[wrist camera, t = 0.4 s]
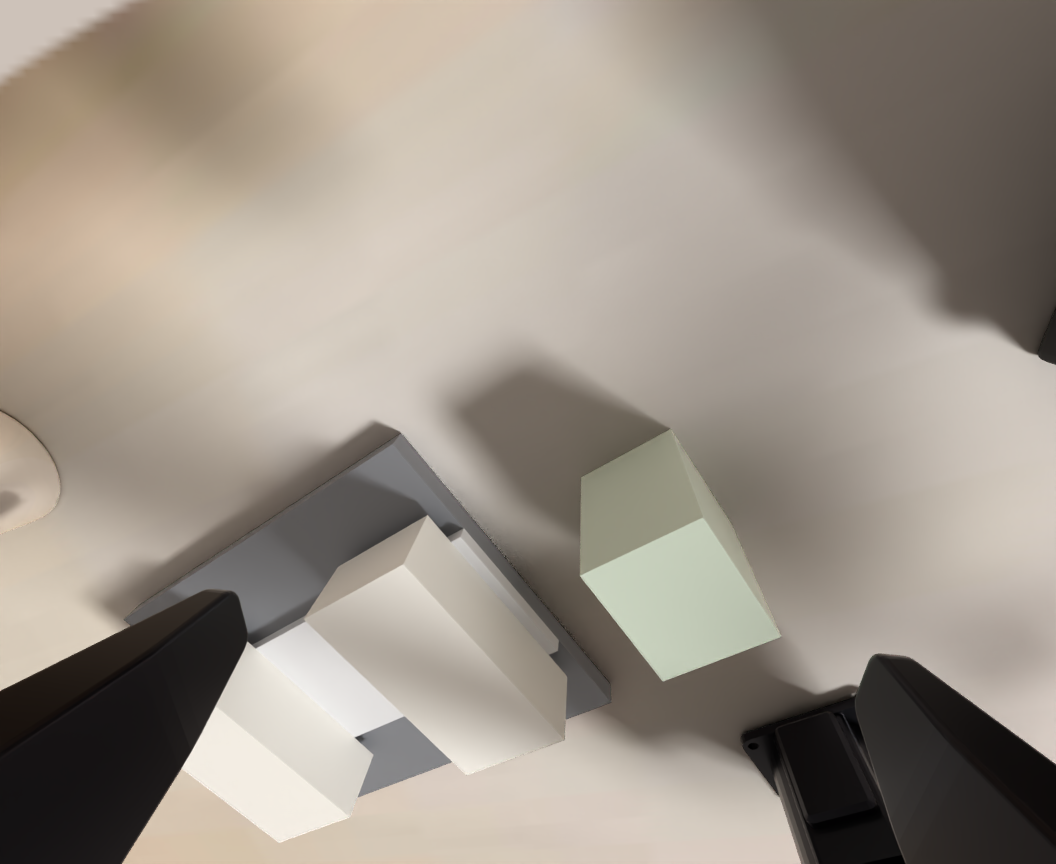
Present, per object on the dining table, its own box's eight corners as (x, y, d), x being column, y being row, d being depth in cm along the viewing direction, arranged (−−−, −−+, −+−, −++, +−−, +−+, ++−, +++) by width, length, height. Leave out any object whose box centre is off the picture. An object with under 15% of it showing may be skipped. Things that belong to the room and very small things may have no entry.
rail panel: (610, 684, 26) (615, 780, 21) (349, 785, 31) (313, 876, 27) (401, 433, 21) (355, 492, 17) (139, 605, 27) (56, 681, 22)
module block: (731, 523, 21) (781, 636, 16) (643, 563, 22) (662, 681, 17) (670, 428, 20) (703, 517, 14) (580, 476, 21) (579, 575, 16)
